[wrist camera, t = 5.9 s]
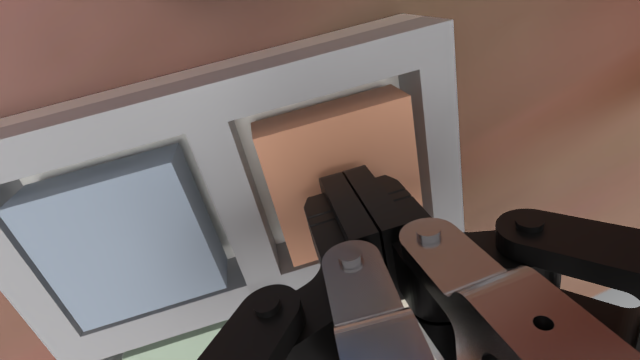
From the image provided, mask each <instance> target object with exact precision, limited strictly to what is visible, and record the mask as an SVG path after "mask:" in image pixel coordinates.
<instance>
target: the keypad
mask: <svg viewBox="0 0 640 360" xmlns="http://www.w3.org/2000/svg"><path fill="white" fill-rule="evenodd" d="M389 84H392V85H393V86H395V87H397V88H399V89H400V90H402V91H404V92H406V93H407V94H409V95H411V102H412V111H413V120H414V130H415V139H416V148H417V157H418V166H419V175H420V184H421V193H422V202H423V208H424V209H425V211H426V212H427V213H428V214H429V215H430V216H431V217H432V218H440V219H444V220H447V221H449V222H451V223H452V224H454V225H455V226H456V227H457V228H458V229H460V230H461V231H462V232H464V213H463V194H462V175H461V156H460V137H459V119H458V100H457V81H456V62H455V43H454V24H453V19H445V18H437V17H429V16H420V15H412V14H404V13H402V14H398V15H394V16H390V17H387V18H383V19H379V20H375V21H371V22H367V23H364V24H360V25H356V26H352V27H348V28H344V29H341V30H337V31H333V32H329V33H325V34H321V35H318V36H314V37H310V38H306V39H302V40H299V41H295V42H291V43H287V44H283V45H279V46H276V47H272V48H268V49H264V50H260V51H256V52H253V53H249V54H245V55H241V56H237V57H233V58H230V59H226V60H222V61H218V62H214V63H211V64H207V65H203V66H199V67H195V68H191V69H188V70H184V71H180V72H176V73H172V74H168V75H165V76H161V77H157V78H153V79H149V80H145V81H142V82H138V83H134V84H130V85H126V86H123V87H119V88H115V89H111V90H107V91H103V92H100V93H96V94H92V95H88V96H84V97H80V98H77V99H73V100H69V101H65V102H61V103H57V104H54V105H50V106H46V107H42V108H38V109H35V110H31V111H27V112H23V113H19V114H15V115H12V116H8V117H4V118H0V207H2V206H3V205H4V204H5V203H6V202H7V201H8V200H9V199H10V198H11V197H12V196H14V195H15V194H16V193H17V192H18V191H19V190H20V189H21V188H22V187H23V186H24V185H27V184H30V183H34V182H38V181H41V180H45V179H48V178H52V177H56V176H59V175H63V174H67V173H70V172H74V171H77V170H81V169H85V168H88V167H92V166H96V165H99V164H103V163H106V162H110V161H114V160H117V159H121V158H125V157H128V156H132V155H136V154H139V153H143V152H146V151H150V150H154V149H157V148H161V147H165V146H168V145H172V144H175V143H179V145H180V147H181V150H182V152H183V154H184V157H185V159H186V161H187V164H188V166H189V169H190V171H191V173H192V176H193V178H194V180H195V183H196V185H197V188H198V190H199V192H200V195H201V197H202V199H203V202H204V204H205V206H206V209H207V211H208V214H209V216H210V218H211V221H212V223H213V225H214V228H215V230H216V233H217V235H218V237H219V240H220V242H221V244H222V247H223V249H224V252H225V254H226V256H227V288H225V289H222V290H218V291H215V292H212V293H209V294H205V295H202V296H199V297H196V298H192V299H189V300H186V301H183V302H179V303H176V304H173V305H170V306H166V307H163V308H160V309H157V310H153V311H150V312H147V313H144V314H140V315H137V316H134V317H131V318H127V319H124V320H121V321H118V322H114V323H111V324H108V325H105V326H101V327H98V328H95V329H92V330H88V331H85V332H84V331H83V330H82V329H81V327H80V326H79V324H78V323H77V322H76V320H75V319H74V318H73V316H72V315H71V313H70V312H69V311H68V309H67V308H66V307H65V305H64V304H63V302H62V301H61V300H60V298H59V297H58V295H57V294H56V293H55V291H54V290H53V289H52V287H51V286H50V284H49V283H48V282H47V280H46V279H45V278H44V276H43V275H42V273H41V272H40V271H39V269H38V268H37V267H36V265H35V264H34V262H33V261H32V260H31V258H30V257H29V256H28V254H27V253H26V251H25V250H24V249H23V247H22V246H21V244H20V243H19V242H18V240H17V239H16V238H15V236H14V235H13V233H12V232H11V231H10V229H9V228H8V227H7V225H6V224H5V222H4V221H3V220H2V218H1V217H0V291H1V292H2V293H3V294H4V296H5V297H6V298H7V299H8V301H9V302H10V303H11V304H12V305H13V307H14V308H15V309H16V310H17V312H18V313H19V314H20V315H21V317H22V318H23V319H24V320H25V321H26V323H27V324H28V325H29V326H30V328H31V329H32V330H33V331H34V332H35V334H36V335H37V336H38V337H39V339H40V340H41V341H42V342H43V344H44V345H45V346H46V347H47V348H48V350H49V351H50V352H51V353H52V355H53V356H54V357H55V358H56V360H122V358H123V354H124V352H126V351H130V350H133V349H136V348H139V347H142V346H145V345H149V344H152V343H155V342H158V341H161V340H165V339H168V338H171V337H174V336H177V335H180V334H184V333H187V332H190V331H193V330H196V329H200V328H203V327H206V326H209V325H212V324H215V323H219V322H222V321H225V320H228V319H229V318H230V317H231V316H232V314H233V313H234V312H235V311H236V309H237V308H238V307H239V306H240V304H241V303H242V302H243V301H244V299H245V298H246V297H247V296H249V295H250V294H251V293H253V292H254V291H256V290H258V289H260V288H262V287H265V286H268V285H273V284H283V285H287V286H290V287H292V288H293V289H295V290H297V289H299V288H301V287H302V286H304V285H305V284H307V283H308V282H310V281H311V280H312V279H313V278H314V277H315V276H316V274H317V273H318V271H319V269H320V263H319V260H316V261H313V262H309V263H306V264H303V265H300V266H296V267H294V266H293V263H292V260H291V257H290V254H289V251H288V248H287V245H286V241H285V238H284V235H283V232H282V229H281V226H280V223H279V220H278V217H277V214H276V211H275V207H274V204H273V201H272V198H271V195H270V192H269V189H268V186H267V183H266V180H265V176H264V173H263V170H262V167H261V164H260V161H259V158H258V155H257V152H256V149H255V146H254V142H253V139H252V131H251V123H252V122H255V121H259V120H263V119H266V118H270V117H273V116H277V115H281V114H284V113H288V112H292V111H295V110H299V109H302V108H306V107H310V106H313V105H317V104H321V103H324V102H328V101H331V100H335V99H339V98H342V97H346V96H350V95H353V94H357V93H360V92H364V91H368V90H371V89H375V88H379V87H382V86H386V85H389Z"/></svg>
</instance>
